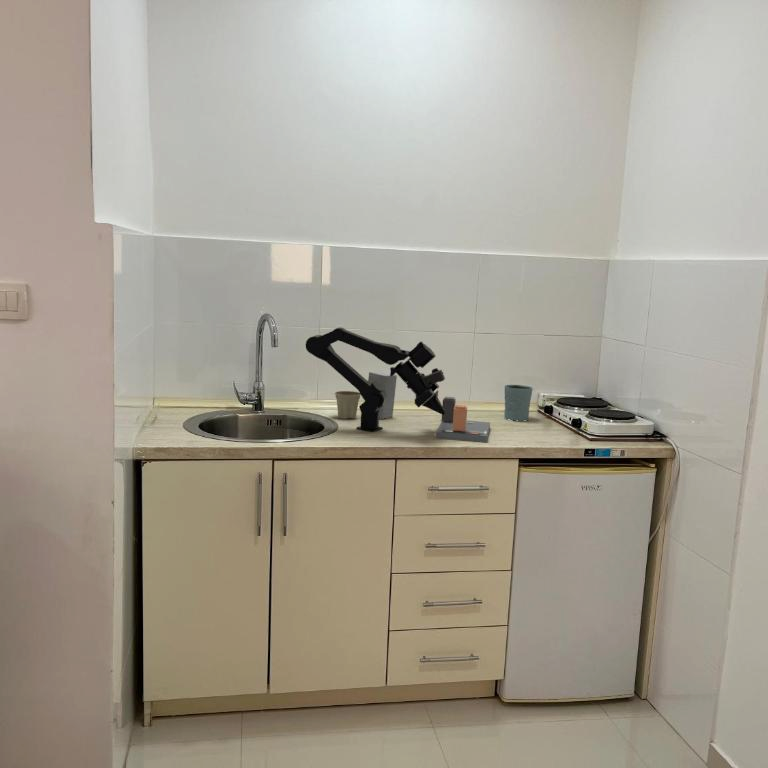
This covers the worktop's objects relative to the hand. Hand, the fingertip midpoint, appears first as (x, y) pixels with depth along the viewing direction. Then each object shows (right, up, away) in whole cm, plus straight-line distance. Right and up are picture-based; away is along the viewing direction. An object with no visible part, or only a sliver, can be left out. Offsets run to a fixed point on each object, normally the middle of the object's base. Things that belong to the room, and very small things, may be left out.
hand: (444, 413), depth 245 cm
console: (+7, -7, +7) cm, 12 cm away
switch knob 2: (+5, -5, 0) cm, 7 cm away
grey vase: (-21, -2, +26) cm, 34 cm away
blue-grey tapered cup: (+29, -3, +35) cm, 45 cm away
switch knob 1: (+2, -3, +14) cm, 15 cm away
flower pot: (-32, -2, +23) cm, 40 cm away
